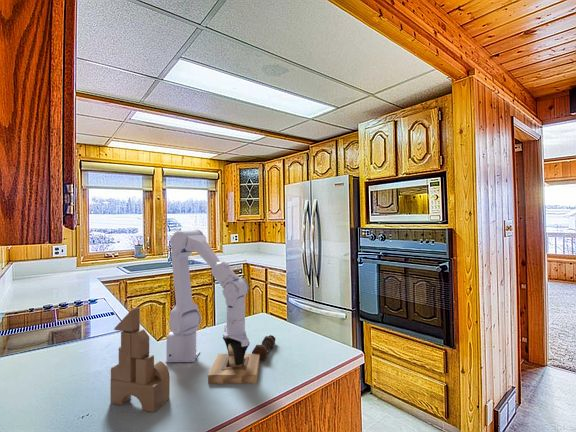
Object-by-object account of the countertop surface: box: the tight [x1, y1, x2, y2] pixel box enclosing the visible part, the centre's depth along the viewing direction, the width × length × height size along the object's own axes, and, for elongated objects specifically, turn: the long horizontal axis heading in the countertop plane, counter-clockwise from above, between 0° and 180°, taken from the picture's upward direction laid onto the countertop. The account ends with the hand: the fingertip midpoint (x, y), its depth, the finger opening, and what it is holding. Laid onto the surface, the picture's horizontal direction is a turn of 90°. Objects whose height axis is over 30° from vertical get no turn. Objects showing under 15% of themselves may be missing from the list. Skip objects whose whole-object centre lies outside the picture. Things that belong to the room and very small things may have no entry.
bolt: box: [251, 334, 277, 362], centre depth 112 cm, size 6×5×15 cm
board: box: [207, 353, 261, 384], centre depth 98 cm, size 14×14×3 cm
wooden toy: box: [109, 306, 171, 413], centre depth 83 cm, size 15×7×25 cm, turn 73°
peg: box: [227, 342, 242, 367], centre depth 98 cm, size 4×4×8 cm
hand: (235, 361), depth 98 cm, fingers closed on peg, 4 cm apart
